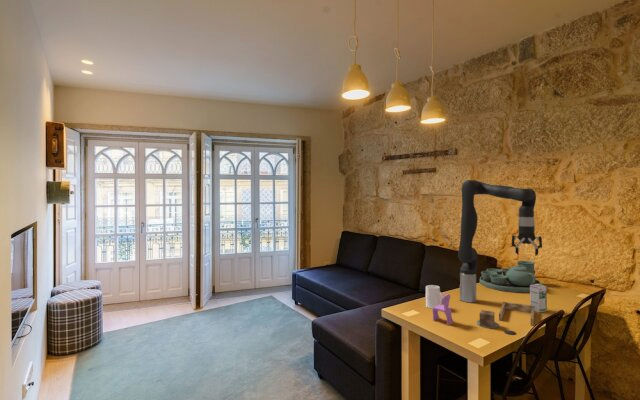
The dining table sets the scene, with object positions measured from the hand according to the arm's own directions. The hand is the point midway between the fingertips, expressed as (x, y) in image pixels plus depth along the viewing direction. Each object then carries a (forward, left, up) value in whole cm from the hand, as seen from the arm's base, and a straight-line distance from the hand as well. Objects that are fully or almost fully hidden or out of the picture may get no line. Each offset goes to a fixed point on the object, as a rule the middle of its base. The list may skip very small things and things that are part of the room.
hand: (526, 254), depth 187 cm
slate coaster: (-16, -25, -33) cm, 45 cm away
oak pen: (-4, -4, -33) cm, 34 cm away
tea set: (-13, +64, -34) cm, 74 cm away
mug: (-46, -12, -33) cm, 58 cm away
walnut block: (-16, -27, -32) cm, 45 cm away
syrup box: (+5, +12, -33) cm, 36 cm away
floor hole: (-6, -31, -33) cm, 46 cm away
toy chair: (-37, -32, -33) cm, 59 cm away
